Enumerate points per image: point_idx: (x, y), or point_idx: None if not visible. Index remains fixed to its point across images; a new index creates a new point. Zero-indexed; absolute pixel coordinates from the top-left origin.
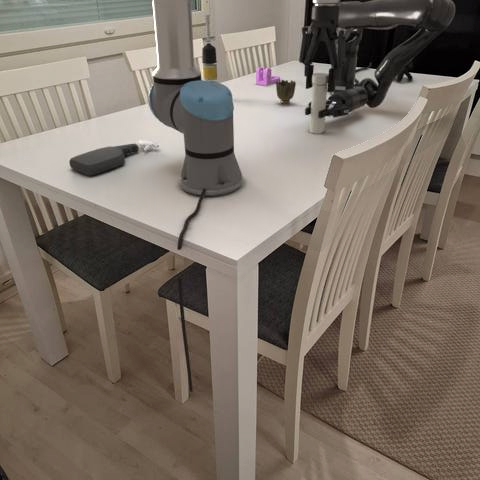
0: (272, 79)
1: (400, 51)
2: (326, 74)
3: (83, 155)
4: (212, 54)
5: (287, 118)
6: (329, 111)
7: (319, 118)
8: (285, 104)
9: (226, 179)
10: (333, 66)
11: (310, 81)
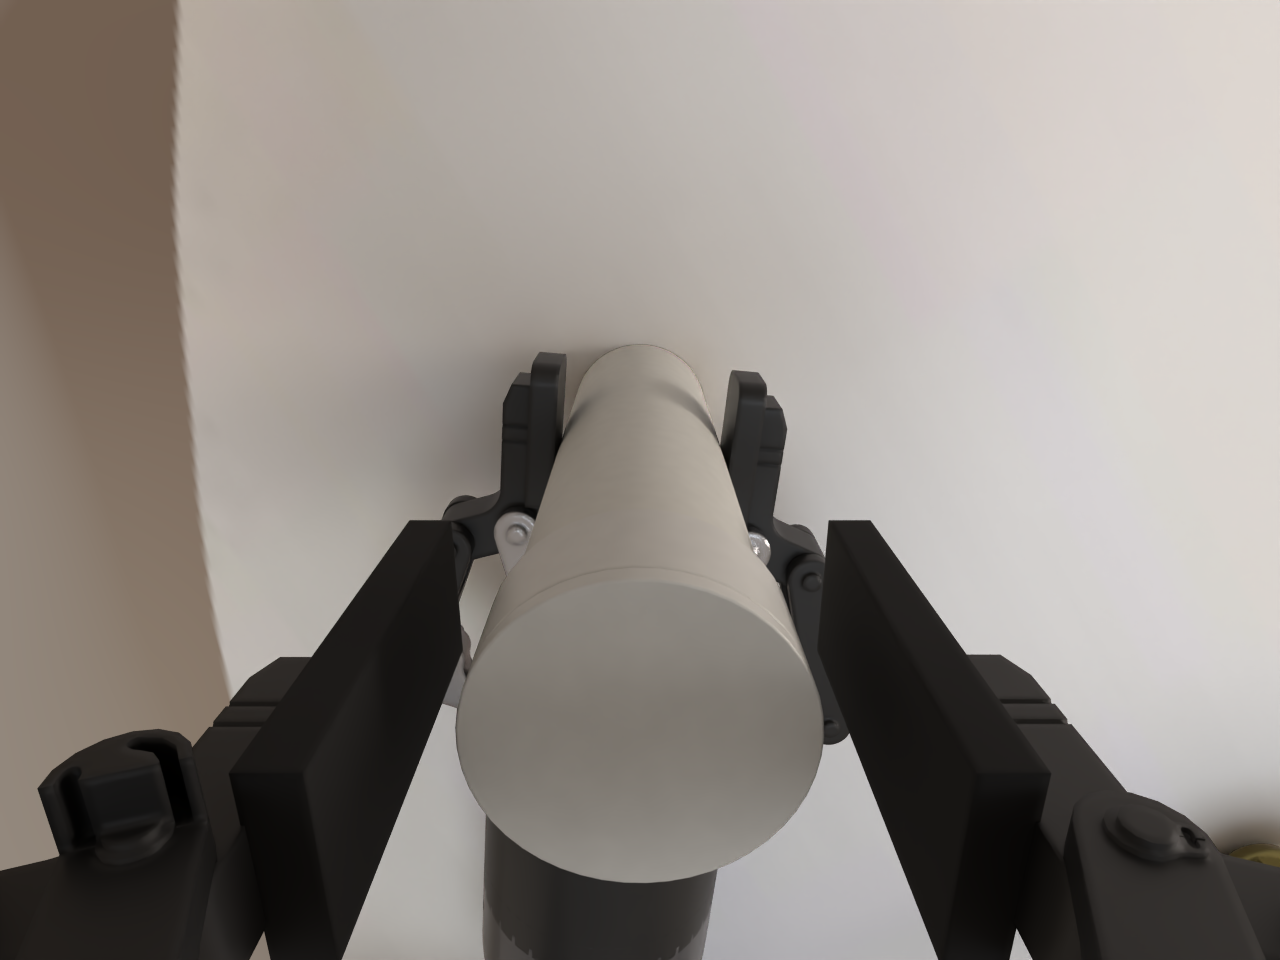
0: None
1: None
2: (541, 808)
3: None
4: None
5: (1052, 567)
6: (499, 497)
7: (582, 400)
8: (1235, 850)
9: None
10: (112, 846)
11: (848, 644)
